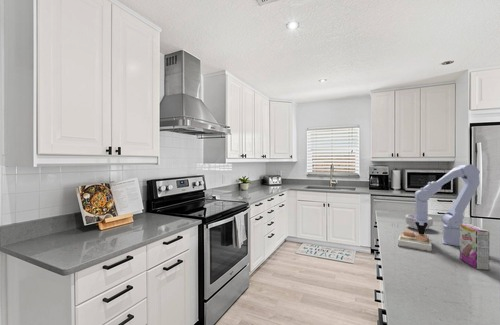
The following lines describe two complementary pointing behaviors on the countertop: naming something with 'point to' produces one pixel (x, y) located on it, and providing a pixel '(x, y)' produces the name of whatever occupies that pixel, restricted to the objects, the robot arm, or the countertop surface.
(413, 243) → the bin
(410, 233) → the terracotta tile
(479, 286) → the countertop surface
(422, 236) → the terracotta tile
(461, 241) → the candy bar box
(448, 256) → the countertop surface
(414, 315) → the countertop surface
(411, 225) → the white purple patterned bowl
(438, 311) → the countertop surface
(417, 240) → the oak board
